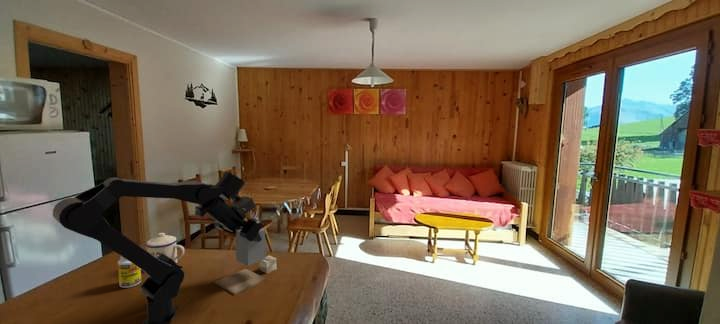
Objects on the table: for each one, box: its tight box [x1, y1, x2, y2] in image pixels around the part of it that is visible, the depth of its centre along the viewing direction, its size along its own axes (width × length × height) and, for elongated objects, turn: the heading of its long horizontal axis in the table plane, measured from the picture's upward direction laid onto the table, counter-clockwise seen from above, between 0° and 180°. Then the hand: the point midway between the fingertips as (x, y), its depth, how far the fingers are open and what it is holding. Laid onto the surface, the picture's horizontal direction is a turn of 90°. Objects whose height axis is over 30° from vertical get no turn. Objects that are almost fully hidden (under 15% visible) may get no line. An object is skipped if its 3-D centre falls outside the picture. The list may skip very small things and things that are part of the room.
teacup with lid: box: [145, 232, 185, 263], centre depth 107 cm, size 12×9×12 cm
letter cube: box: [259, 255, 278, 274], centre depth 106 cm, size 4×4×4 cm
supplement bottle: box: [117, 255, 142, 289], centre depth 94 cm, size 6×6×10 cm
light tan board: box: [214, 268, 267, 296], centre depth 97 cm, size 11×11×1 cm
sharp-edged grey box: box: [235, 228, 266, 267], centre depth 99 cm, size 6×6×10 cm
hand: (254, 237), depth 100 cm, fingers closed on sharp-edged grey box, 6 cm apart
